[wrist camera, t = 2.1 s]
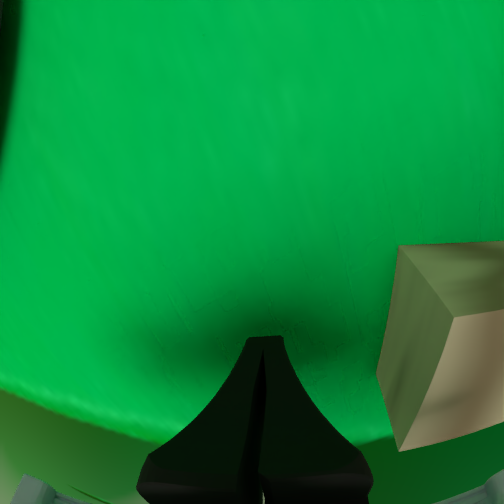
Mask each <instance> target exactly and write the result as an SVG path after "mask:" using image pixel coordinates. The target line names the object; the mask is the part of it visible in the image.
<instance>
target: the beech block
mask: <svg viewBox="0 0 504 504" xmlns="http://www.w3.org/2000/svg"><path fill="white" fill-rule="evenodd" d="M376 376H377V379H378V382H379V385H380V388H381V392H382V395H383V398H384V402H385V405H386V409H387V412H388V415H389V419H390V422H391V426H392V430H393V433H394V437H395V440H396V444H397V448H398V451H404V450H409V449H414V448H418V447H422V446H426V445H430V444H434V443H438V442H442V441H445V440H449V439H452V438H456V437H459V436H463V435H466V434H469V433H472V432H475V431H478V430H481V429H484V428H487V427H489V426H492V425H495V424H498V423H500V422H503V421H504V241H490V242H468V243H445V244H422V245H399V247H398V255H397V263H396V271H395V278H394V284H393V291H392V297H391V303H390V309H389V314H388V320H387V325H386V330H385V335H384V340H383V344H382V349H381V353H380V358H379V362H378V366H377V370H376Z"/></svg>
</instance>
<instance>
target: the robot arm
mask: <svg viewBox="0 0 504 504" xmlns="http://www.w3.org/2000/svg"><path fill="white" fill-rule="evenodd" d="M372 486H373V476H372V473H371V470H370V468H369V466H368V463H367V461H366V460H365V458H364V456H363V454H362V453H361V451H359V450H358V449H357V448H356V447H355V446H353V445H352V444H351V443H350V442H349V441H348V440H347V439H345V438H344V437H343V436H342V435H341V434H340V433H339V432H338V431H337V430H336V429H335V428H334V427H333V426H332V424H331V423H330V422H329V421H328V420H327V419H326V418H325V417H324V416H323V414H322V413H321V412H320V411H319V409H318V408H317V407H316V405H315V404H314V403H313V401H312V400H311V398H310V397H309V395H308V394H307V392H306V391H305V389H304V388H303V386H302V384H301V382H300V381H299V379H298V377H297V375H296V373H295V371H294V369H293V367H292V365H291V363H290V360H289V358H288V355H287V352H286V349H285V346H284V340H283V337H282V336H280V335H279V336H263V337H249V338H248V339H247V340H246V343H245V345H244V348H243V350H242V352H241V354H240V356H239V358H238V360H237V362H236V364H235V366H234V367H233V369H232V371H231V373H230V374H229V376H228V377H227V379H226V380H225V382H224V383H223V385H222V386H221V388H220V389H219V391H218V392H217V393H216V395H215V396H214V397H213V399H212V400H211V401H210V402H209V404H208V405H207V406H206V407H205V408H204V409H203V410H202V411H201V412H200V414H199V415H198V416H197V417H196V418H195V419H194V420H193V421H192V422H191V423H190V424H188V425H187V426H186V427H185V428H184V429H183V430H181V431H180V432H179V433H178V434H177V435H176V436H174V437H173V438H172V439H171V440H169V441H168V442H166V443H165V444H163V445H162V446H161V447H159V448H158V449H156V450H155V451H153V452H152V453H150V454H148V456H147V458H146V461H145V463H144V465H143V467H142V469H141V472H140V476H139V479H138V482H137V486H136V489H137V491H138V492H139V494H140V495H141V496H142V497H143V498H144V499H145V500H146V501H147V502H148V503H149V504H263V493H264V497H265V504H369V502H368V494H369V492H370V490H371V488H372ZM10 504H91V503H87V502H85V501H81V500H78V499H75V498H73V497H70V496H67V495H64V494H62V493H59V492H56V490H55V489H54V488H53V487H51V486H50V485H49V484H47V483H46V482H44V481H42V480H40V479H37V478H35V477H33V476H31V475H28V474H24V475H23V477H22V479H21V481H20V483H19V485H18V487H17V490H16V492H15V494H14V496H13V498H12V501H11V503H10ZM433 504H504V470H502V471H500V472H498V473H496V474H495V475H493V476H492V477H490V478H489V479H488V480H487V482H486V483H485V484H484V485H482V486H480V487H477V488H475V489H472V490H470V491H468V492H465V493H462V494H460V495H457V496H454V497H451V498H449V499H446V500H443V501H440V502H437V503H433Z"/></svg>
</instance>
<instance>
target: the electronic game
mask: <svg viewBox="0 0 504 504" xmlns="http://www.w3.org/2000/svg"><path fill="white" fill-rule="evenodd" d="M2 11H3V0H0V31H1V22H2Z"/></svg>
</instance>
